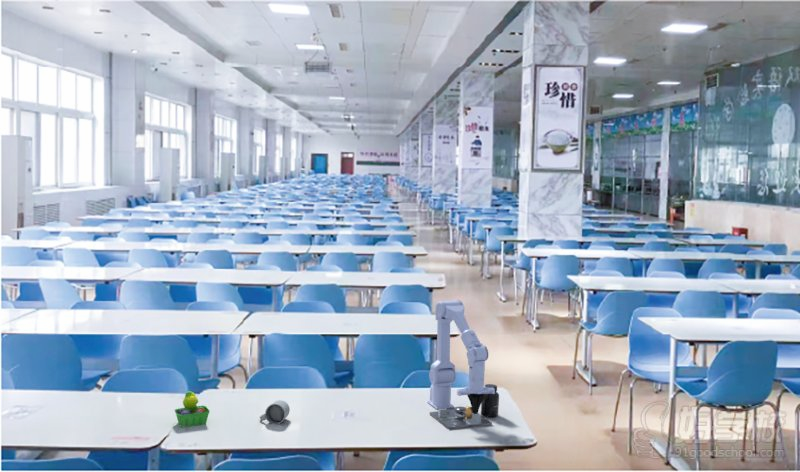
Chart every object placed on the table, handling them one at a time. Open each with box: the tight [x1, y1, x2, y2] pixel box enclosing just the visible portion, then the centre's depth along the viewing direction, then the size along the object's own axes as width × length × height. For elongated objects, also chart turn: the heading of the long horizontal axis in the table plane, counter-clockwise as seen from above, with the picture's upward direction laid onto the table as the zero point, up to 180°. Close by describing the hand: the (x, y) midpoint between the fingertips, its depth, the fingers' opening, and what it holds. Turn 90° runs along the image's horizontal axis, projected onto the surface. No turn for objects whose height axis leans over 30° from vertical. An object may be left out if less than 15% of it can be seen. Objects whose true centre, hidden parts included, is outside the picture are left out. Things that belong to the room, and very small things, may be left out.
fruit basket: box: [174, 391, 211, 428], centre depth 285 cm, size 11×9×11 cm
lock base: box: [429, 408, 493, 430], centre depth 299 cm, size 18×18×4 cm
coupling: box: [453, 406, 472, 419], centre depth 296 cm, size 11×5×4 cm, turn 21°
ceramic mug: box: [259, 399, 291, 425], centre depth 291 cm, size 11×8×8 cm
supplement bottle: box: [480, 383, 500, 419], centre depth 305 cm, size 7×7×12 cm
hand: (475, 413), depth 293 cm, fingers closed
